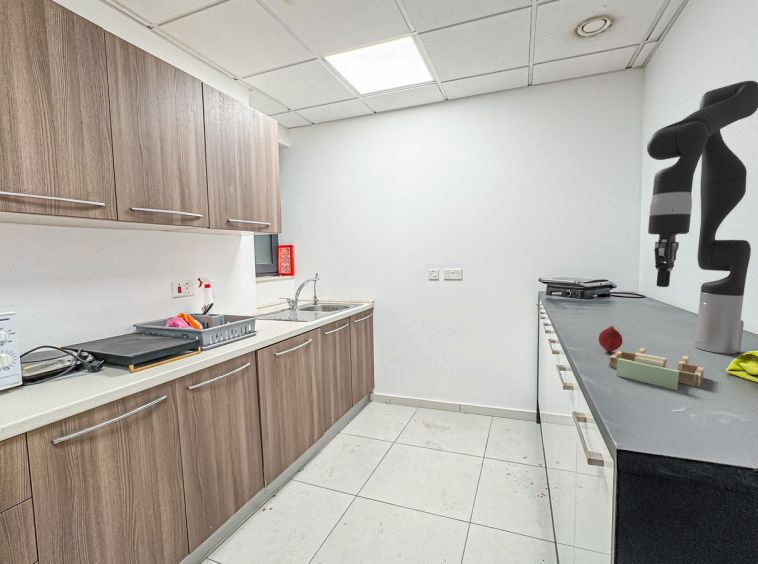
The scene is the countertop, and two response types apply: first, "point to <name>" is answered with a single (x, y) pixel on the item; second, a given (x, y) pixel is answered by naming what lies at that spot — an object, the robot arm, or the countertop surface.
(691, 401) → the countertop surface
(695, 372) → the channel
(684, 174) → the robot arm
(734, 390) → the countertop surface
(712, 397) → the countertop surface
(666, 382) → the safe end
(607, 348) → the onion
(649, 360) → the block
